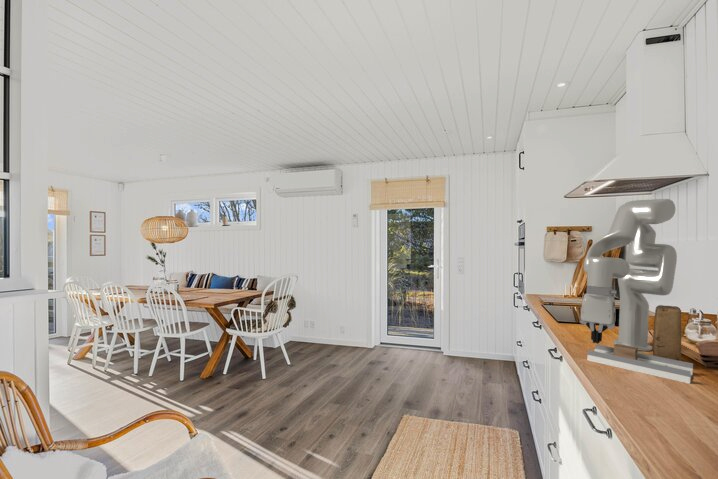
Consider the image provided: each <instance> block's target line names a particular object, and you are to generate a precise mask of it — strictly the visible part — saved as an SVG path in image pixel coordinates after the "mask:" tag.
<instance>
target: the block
mask: <svg viewBox="0 0 718 479" xmlns="http://www.w3.org/2000/svg"><path fill="white" fill-rule="evenodd" d="M653 320H654V321H653V336H652V355H653V356H658V357H663V358H668V359H673V360H678V361H682V358H681V357H682V354H681V353H682V309H681V308H680V307H678V306H674V305H663V304H659V305H657V306H656V307H655V311H654V319H653Z"/></svg>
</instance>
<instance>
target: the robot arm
mask: <svg viewBox="0 0 718 479" xmlns="http://www.w3.org/2000/svg"><path fill="white" fill-rule="evenodd" d="M675 214H676V204H675V202H674V201H673V200H671V199H669V198H655V199H654V198H653V199H635V200H630V201H627V202H625V203H624V204H621V205H620V206H619V207H618V208H617V211H616V213H615V216H614V218H613V220H612V224H611V226H610V229H609V231H608V233H606V234H605V235H603V236H602V237H600V238H598V240H596V241H595V242H594V243H592V244H591V246H590V247H588V248H589V249H588V250H587V252H586V255H585V258H584V261H583V271H584V273H585V274H587V277H586V293H584V295H583V299H582V301H581V302H582V303H581V307H580V308H581V309H580V320H579V323H580V324H581V325H584V326H587V328H588V329H589V330H590V334H591V335H590V339H591V340H592V343H593V344H597V345H599V343H600V342H602V341H603V340H602V339H603V332H604V331H606V330H614V329H616V324H615V323H616V301H615V297H614V296H612V295H617V289H615V290H614V289H613V288H612V287H613V279H617V284H618V289H619V290H618V291H619V314H618V317H619V318H618V339H614V340H613V344H614V346H615V345H616V344H622V345H627V346H632V347H637V348H638V351H641V352H648V351H653V345H650V344H649V343H648V339H649V338H648V337H649V314H650V313H649V312H650V305H649V302H648V300H647V299H646V297H645V296H644V295H643V294H647V295H653V296H654V295H655V296H669V295H670V294H671V292H672V290H673V286H674V283H675V281H674V280H675V275H676V268H677V257H678V256H677V254H678V253H677V250H676V249H675V247H674V246H672V245H671V244H665V243H656V236H657V233H656V231H655V229H654V228H653V227H652V226H651V225H658V224H663V223H666V222H668V221H670V220H671V219H673V217H674V216H675ZM625 246H627V249H626V250H627V252H626V259H623V258H620V257H611V256H610V257H609V256H602V255H604V254H605V253H607V252H609V251H612V250H615V249H619V248H621V247H625ZM630 266H633V267H634V266H635V267H641V268H630ZM643 267H644V268H645V269H643ZM646 268H654V269H656V268H657V269H658V270H654V269H646ZM596 324H598V328H597V327H596Z"/></svg>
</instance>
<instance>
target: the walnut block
mask: <svg viewBox="0 0 718 479" xmlns="http://www.w3.org/2000/svg"><path fill="white" fill-rule="evenodd" d="M613 348H614V355H615V356H620V357H625V358H629V359H634V360H637V358H638V353H639V350H638V348H637V347H632V346H627V345H622V344H616V345H615V344H614V345H613Z"/></svg>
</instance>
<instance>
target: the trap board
mask: <svg viewBox="0 0 718 479" xmlns="http://www.w3.org/2000/svg"><path fill="white" fill-rule="evenodd" d="M586 357H587V361H588V362H593V363H598V364H601V365H602V364H603V365H606V366H610V367H614V368H615V367H616V368H620V369H624V370H627V371H632V372H636V373H641V374H646V375H651V376H653V377H659V378H663V379H667V380H673V381H676V382H681V383H684V384H685V383H686V384H689V385H690V383H691V382H692V378H693V375H694V363H692V362H687V361H682V360H680V361H678V360H673V359H668V358H663V357H658V356H653V354H648V353H641V352H638V358H637V360H634V359H629V358H625V357H620V356H615V355H614V347H612V346H606V345H601V344H597V343H595V349H594V350H591V349H587V356H586Z"/></svg>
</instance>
